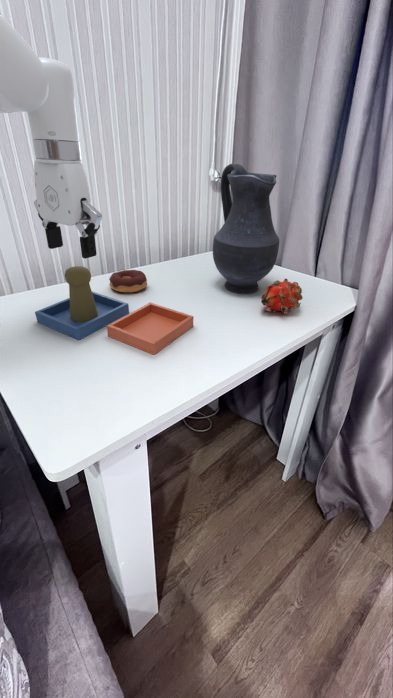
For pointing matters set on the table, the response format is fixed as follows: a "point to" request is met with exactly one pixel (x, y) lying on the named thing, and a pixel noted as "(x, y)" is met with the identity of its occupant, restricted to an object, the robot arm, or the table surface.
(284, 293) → the dragon fruit
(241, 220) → the pitcher
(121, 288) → the donut
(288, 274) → the table surface
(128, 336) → the terracotta tray
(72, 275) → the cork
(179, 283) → the table surface
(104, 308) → the blue tray
